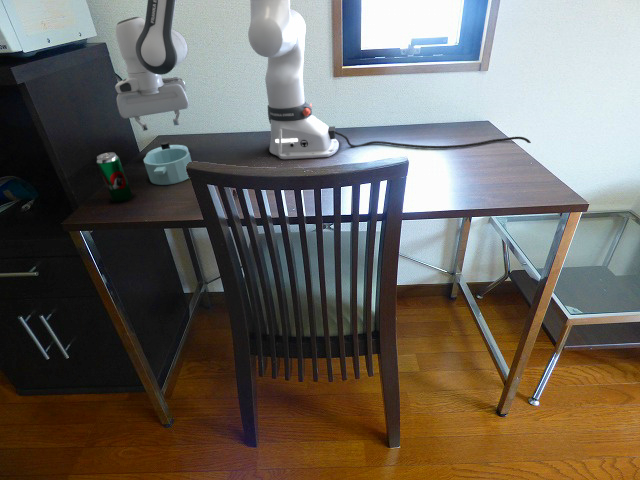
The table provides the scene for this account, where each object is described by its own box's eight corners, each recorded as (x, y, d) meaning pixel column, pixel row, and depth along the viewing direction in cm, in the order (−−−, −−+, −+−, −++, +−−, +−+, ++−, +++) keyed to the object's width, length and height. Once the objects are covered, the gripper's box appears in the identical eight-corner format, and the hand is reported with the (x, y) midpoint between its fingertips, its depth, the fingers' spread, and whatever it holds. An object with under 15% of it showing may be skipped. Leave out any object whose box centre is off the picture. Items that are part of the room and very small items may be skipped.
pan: (199, 162, 120) (195, 143, 117) (186, 187, 105) (180, 166, 102) (159, 165, 120) (154, 146, 117) (141, 190, 105) (133, 170, 102)
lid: (192, 146, 132) (189, 134, 130) (183, 161, 121) (179, 148, 119) (154, 149, 132) (150, 137, 130) (141, 164, 121) (137, 152, 119)
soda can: (136, 194, 103) (121, 151, 97) (127, 203, 99) (110, 159, 93) (119, 194, 104) (102, 151, 97) (108, 203, 100) (90, 159, 93)
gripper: (182, 74, 119) (194, 119, 126) (111, 84, 114) (128, 130, 122) (183, 77, 113) (195, 124, 121) (109, 88, 109) (126, 136, 117)
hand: (161, 127), depth 121 cm, fingers open, 8 cm apart
